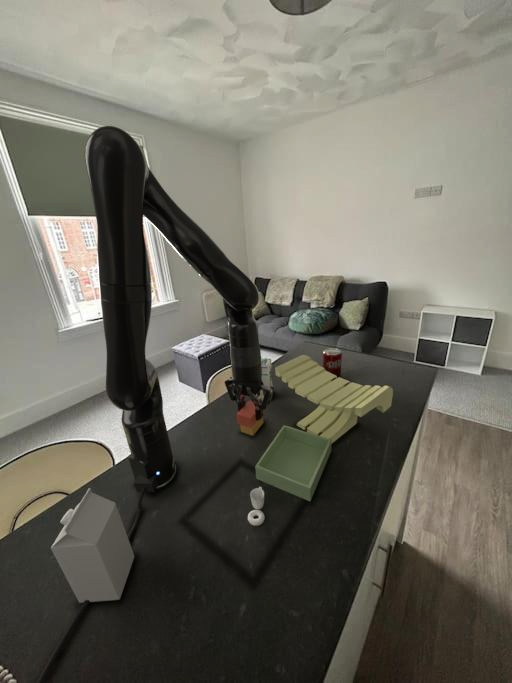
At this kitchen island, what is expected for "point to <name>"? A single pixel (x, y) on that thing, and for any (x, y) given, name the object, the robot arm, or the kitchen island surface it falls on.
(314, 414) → the slatted curved stool
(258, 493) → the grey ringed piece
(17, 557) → the kitchen island surface
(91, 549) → the milk carton
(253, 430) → the block
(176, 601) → the kitchen island surface
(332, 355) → the soda can
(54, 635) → the kitchen island surface
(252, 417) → the block
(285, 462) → the basket
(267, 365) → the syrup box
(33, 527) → the kitchen island surface
